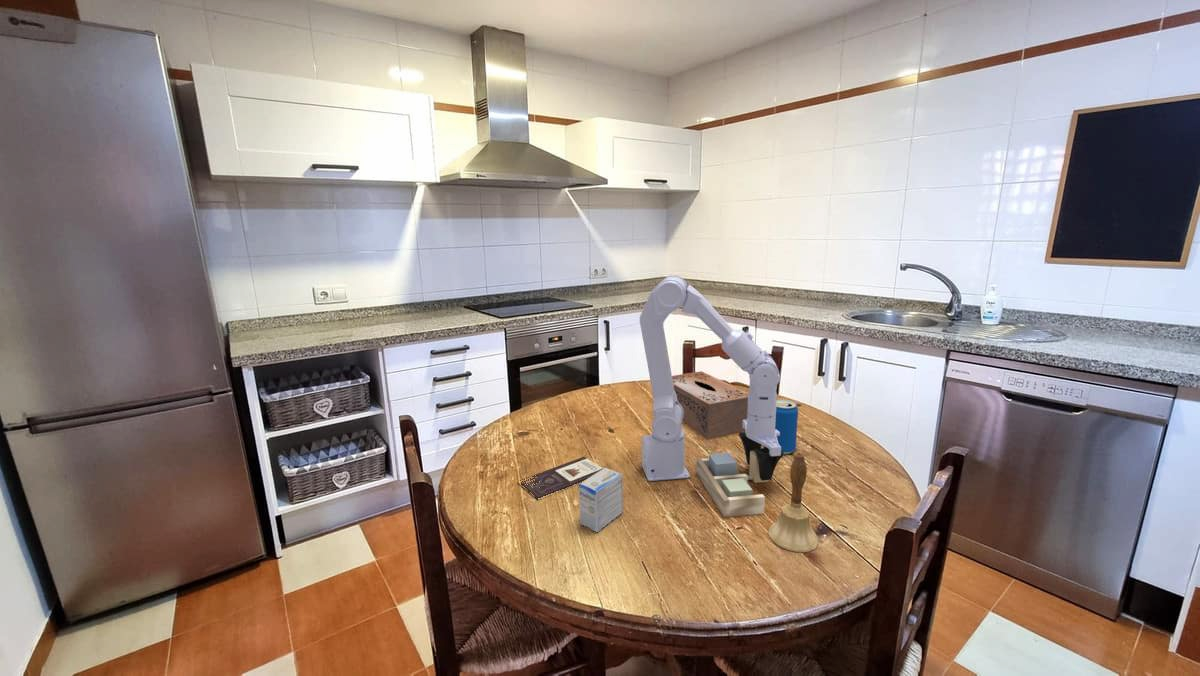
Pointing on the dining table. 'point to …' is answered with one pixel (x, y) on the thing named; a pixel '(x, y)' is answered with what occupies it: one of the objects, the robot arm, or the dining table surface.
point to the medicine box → (601, 499)
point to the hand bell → (795, 516)
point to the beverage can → (786, 425)
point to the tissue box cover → (711, 404)
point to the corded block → (733, 466)
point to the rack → (724, 503)
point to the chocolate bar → (561, 477)
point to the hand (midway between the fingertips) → (758, 471)
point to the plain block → (736, 487)
